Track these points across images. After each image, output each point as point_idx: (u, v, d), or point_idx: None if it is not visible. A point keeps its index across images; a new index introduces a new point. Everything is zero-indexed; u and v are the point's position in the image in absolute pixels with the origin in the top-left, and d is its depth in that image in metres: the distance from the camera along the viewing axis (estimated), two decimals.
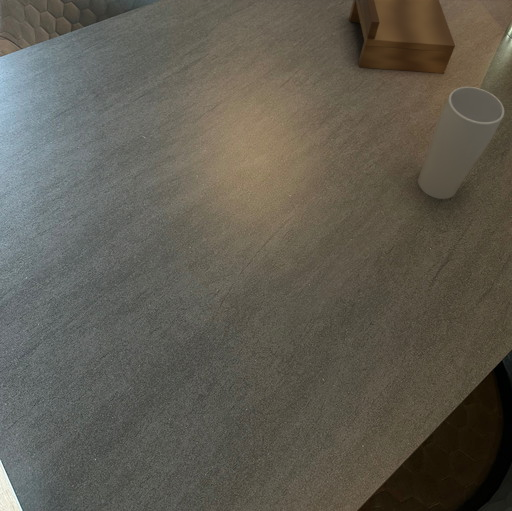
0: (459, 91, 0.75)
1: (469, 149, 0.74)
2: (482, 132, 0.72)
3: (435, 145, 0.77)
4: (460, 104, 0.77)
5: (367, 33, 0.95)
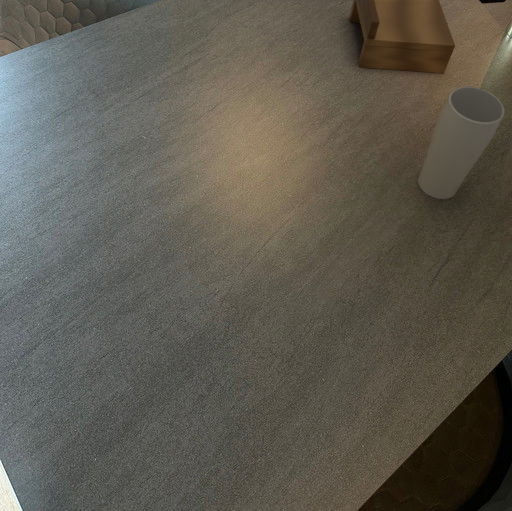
0: (459, 91, 0.75)
1: (469, 149, 0.74)
2: (482, 132, 0.72)
3: (435, 145, 0.77)
4: (460, 104, 0.77)
5: (367, 33, 0.95)
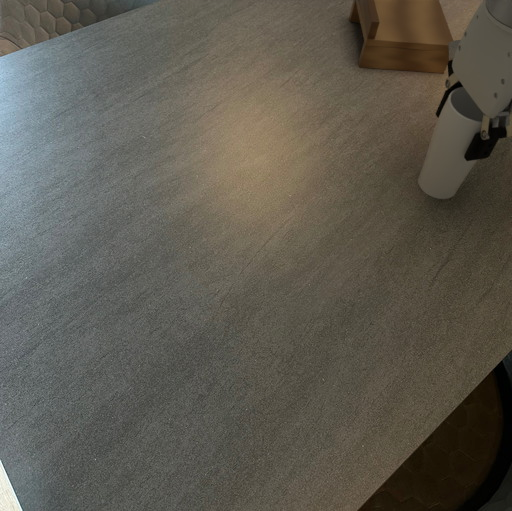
0: (459, 91, 0.75)
1: None
2: None
3: (435, 145, 0.77)
4: (459, 104, 0.77)
5: (367, 33, 0.95)
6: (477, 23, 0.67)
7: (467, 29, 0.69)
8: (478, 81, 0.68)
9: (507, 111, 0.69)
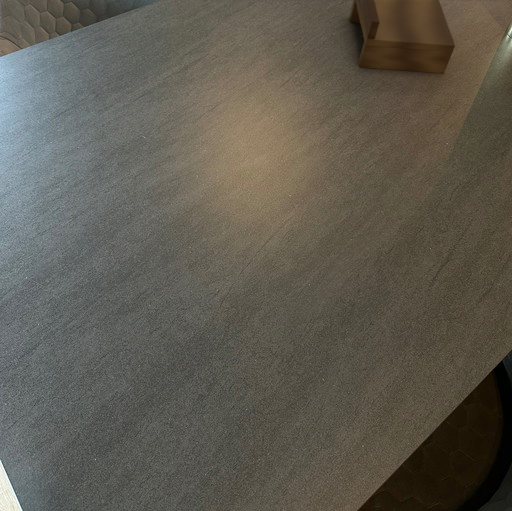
0: None
1: None
2: None
3: None
4: None
5: (367, 33, 0.95)
6: None
7: None
8: None
9: None
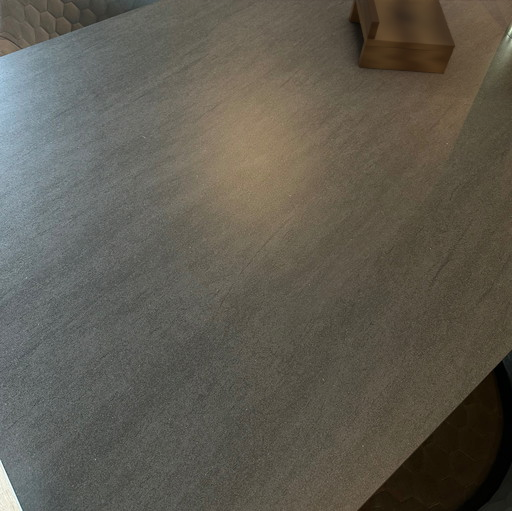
0: None
1: None
2: None
3: None
4: None
5: (367, 33, 0.95)
6: None
7: None
8: None
9: None
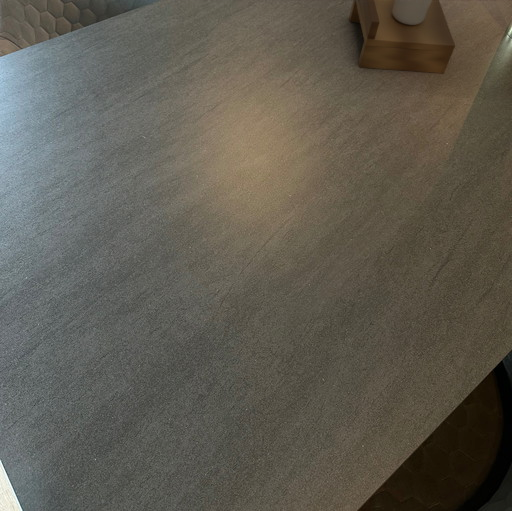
0: None
1: None
2: None
3: None
4: None
5: (367, 33, 0.95)
6: None
7: None
8: None
9: None
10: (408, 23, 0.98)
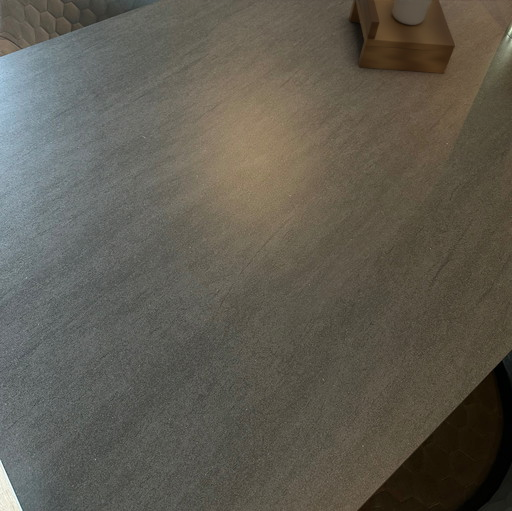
0: None
1: None
2: None
3: None
4: None
5: (367, 33, 0.95)
6: None
7: None
8: None
9: None
10: (408, 23, 0.98)
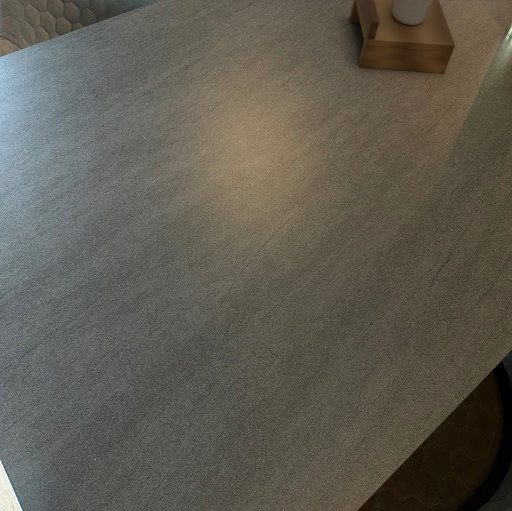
0: None
1: None
2: None
3: None
4: None
5: (367, 33, 0.95)
6: None
7: None
8: None
9: None
10: (408, 23, 0.98)
